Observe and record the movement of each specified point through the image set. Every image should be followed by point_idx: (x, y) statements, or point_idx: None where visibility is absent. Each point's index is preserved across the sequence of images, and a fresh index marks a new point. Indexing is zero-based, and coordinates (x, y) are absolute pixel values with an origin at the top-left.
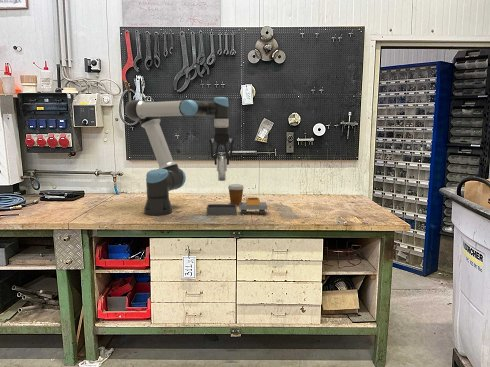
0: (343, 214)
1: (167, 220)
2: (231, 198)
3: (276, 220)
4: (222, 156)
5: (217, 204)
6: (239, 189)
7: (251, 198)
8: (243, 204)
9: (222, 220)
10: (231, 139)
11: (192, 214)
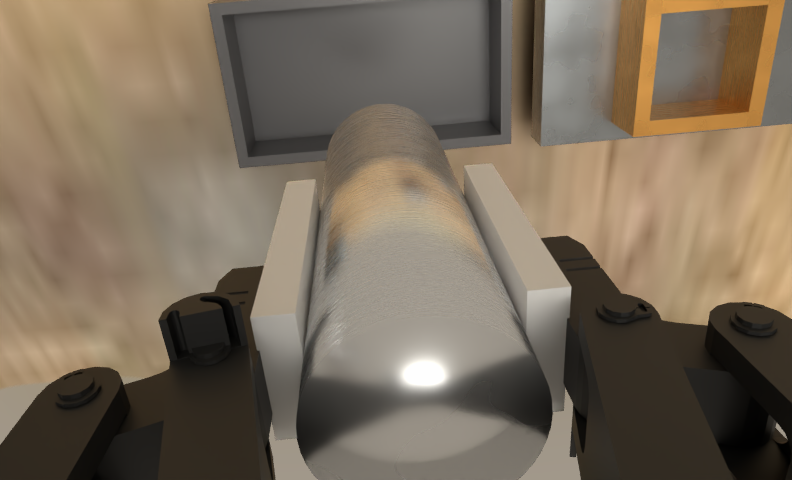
0: None
1: (3, 311)
2: None
3: (764, 252)
4: (455, 477)
5: (314, 6)
6: None
7: (698, 10)
8: (584, 77)
9: None
10: None
11: (118, 127)
